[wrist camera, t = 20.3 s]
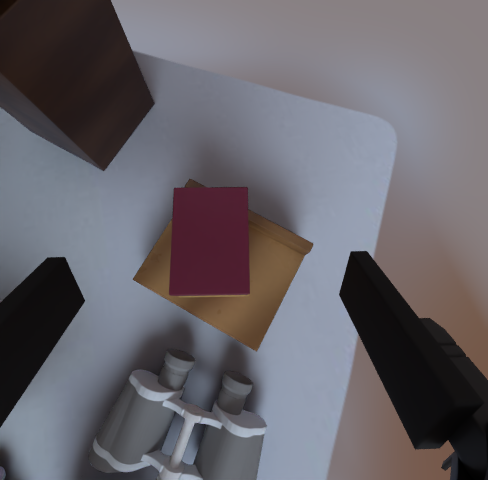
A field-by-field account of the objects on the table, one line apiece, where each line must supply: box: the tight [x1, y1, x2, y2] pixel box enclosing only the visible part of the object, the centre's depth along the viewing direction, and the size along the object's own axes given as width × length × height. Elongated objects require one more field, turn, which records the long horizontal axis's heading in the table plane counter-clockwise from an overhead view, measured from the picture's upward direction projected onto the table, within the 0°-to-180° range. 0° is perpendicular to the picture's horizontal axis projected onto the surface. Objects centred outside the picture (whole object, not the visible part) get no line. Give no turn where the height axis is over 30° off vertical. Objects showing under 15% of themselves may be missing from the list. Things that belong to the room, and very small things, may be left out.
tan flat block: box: [133, 179, 313, 351], centre depth 21 cm, size 11×9×4 cm
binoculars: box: [88, 349, 267, 480], centre depth 19 cm, size 12×8×4 cm, turn 70°
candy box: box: [169, 187, 250, 297], centre depth 16 cm, size 4×5×9 cm
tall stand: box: [0, 0, 154, 171], centre depth 20 cm, size 9×9×14 cm
